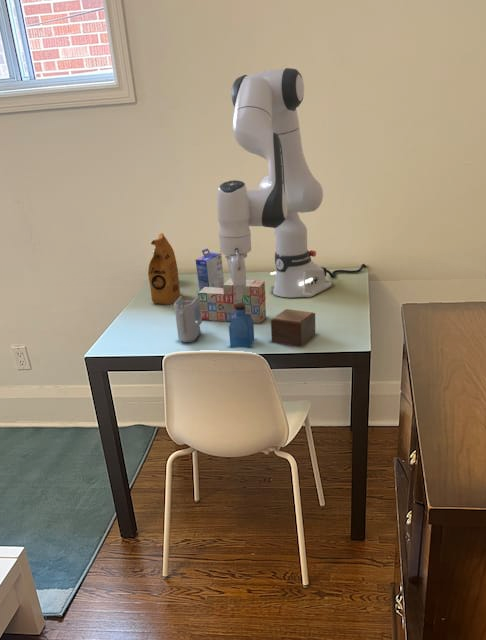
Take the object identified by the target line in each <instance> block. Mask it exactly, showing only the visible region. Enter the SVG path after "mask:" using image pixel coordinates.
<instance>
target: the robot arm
mask: <svg viewBox="0 0 486 640" xmlns="http://www.w3.org/2000/svg"><path fill="white" fill-rule="evenodd" d="M304 94H305V84H304V79H303V75H302V73H301V72H300V71H299V70H298V69H296V68H291V67H286V68H283V69H282V68H281V69H280V68H279V69H266V70H264V71H259V72H254V73H251V74H248V75H247V74H243V75H241V76H239V77H237V78H236V79H235V80H234V82H233V84H232V86H231V100H232V101H231V103H232V105H233V108H234V109H233V118H232V134H233V137H234V140H235V141H236V143H237V145H239V146H240V147H241V148H242V149H243V150H245V151H247V152H248V153H251V154H253V155H256V156H259V157H260V158H262V159H264V160H266V161H267V165H268V175H266V176H264V177H263V178H262V179H261V181H260V183H259V186H258V189H247V185H246V183H245V182H244V181H242V180H236V179H234V180H228V181H224V182H222V183H221V184H220V185H219V186H218V189H217V199H216V210H217V211H216V212H217V220H218V223H219V224H218V225H219V230H218V239H219V240H218V242H219V252H220V254H221V255H224V259H226V261H227V267H228V270H229V274H230V277H231V278H230V279H232V282H233V286H234V289H235V290H236V298H237V299H243V287H245V286H246V280H247V271H246V261H245V260H246V258H247V257H248V254H249V253H250V252H252V237H251V236H252V235H251V229H250V227H264V228H271V229H274V240H275V252H274V264H275V271H273V272H270V275H274V284H273V289H272V294H273V295H274V296H277V297H281V298H311V297H314V296H315V295H318V294H319V293H321V292H323V291H325V290H328V289H329V288H331V287H332V286H333V284H332V282H331V281H329V280H326V277H327V274H328V275H329V276H330V277H331V278H335V277H336V276H335V274H337V273H346V274H347V273H349V274H357V273H359V272H362V270H363V268H367V265H366V264H365V263H362V264H361V265H360V267H359V269H356V270H355V269H354V270H348V269H336V270H333V271H332V272H331V271H330V270H329V269H327V267H324V266H320V265H319V264H317V263H315V262H314V261H313V260H312V258H311V257H313V258H315V257H316V256H317V251H316V250H312V249H311V250H308V228H307V225H306V224H305V223H304V222H303V220H302V219H301V217H300V215H299V213H301V214H303V213H311V212H316V211H317V210H318V208H320V206H321V204H322V202H323V198H324V190H323V186H322V184H321V183H320V182H319V181H318V180H317V179H316V178H315V176H314V174H313V173H312V172H311V169H310V166H309V165H308V163H307V160H306V158H305V154H304V150H303V143H302V138H301V129H300V121H299V116H298V111H297V110H298V109H297V108H299V107H300V106H301V104H302V102H303V100H304V96H305V95H304Z"/></svg>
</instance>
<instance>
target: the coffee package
mask: <svg viewBox="0 0 486 640" xmlns="http://www.w3.org/2000/svg"><path fill="white" fill-rule="evenodd" d="M150 244H151V245H152V246H154V247H155V248H154V250H153V251H154V254H153V253H152V257H151V259H150V261H149V264H148V270H147V271H148V272H147V275H148V282H149V288H150V297H151V301H152V303H153V304H155V305H156V304H158V305H164V304H165V305H171V304H174V303H175V302H176V301H177V299H178V298H179V297H180V296H181V289H180V281H179V269H178V264H177V259H176V255H175V251H174V249H173V247H172V245H171V243H170V242H169V241H168V239H167V238H166V236H165V234H164V233H163V232H161V233H160V234H158V238H157V239H153V240H152V241H151V242H150Z"/></svg>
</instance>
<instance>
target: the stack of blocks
mask: <svg viewBox="0 0 486 640" xmlns="http://www.w3.org/2000/svg"><path fill="white" fill-rule="evenodd" d="M197 296H199V299H200V304H201V314H202V320H207V321H219V322H231V321H232V318H233V317H234V315H235V312H234V309H235V304H237V303H244V304H245V308H246V314H249V315H250V316H251V318H252V319H253V324H258V325H260V324H262V323H263V321H264V320H265V319H266V318H267V309H266V308H267V307H266V303H267V302H266V281H265V280H255V279H246V286H245V287H243V299H237V298H236V290H235V289H234V286H233V282H232V278H229V279H227V281H225V282H224V284H223V287H222V288H214V287H204V288H203V289H202V290H201V291H200V290H199V291H198V292H197Z"/></svg>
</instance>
